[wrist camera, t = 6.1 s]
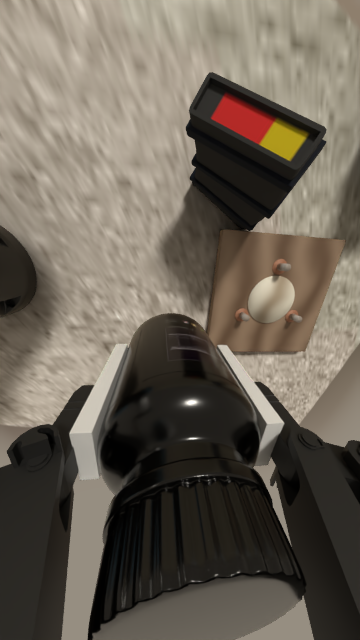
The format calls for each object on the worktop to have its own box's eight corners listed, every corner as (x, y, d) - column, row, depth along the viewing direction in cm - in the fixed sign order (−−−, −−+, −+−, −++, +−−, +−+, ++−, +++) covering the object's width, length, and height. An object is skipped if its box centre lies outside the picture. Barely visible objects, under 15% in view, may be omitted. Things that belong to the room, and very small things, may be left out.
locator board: (205, 347, 35) (209, 357, 32) (220, 230, 27) (228, 227, 24) (299, 347, 38) (312, 356, 34) (337, 241, 30) (359, 239, 27)
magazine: (259, 244, 27) (298, 177, 13) (195, 203, 29) (166, 105, 15) (275, 222, 26) (336, 126, 12) (208, 182, 28) (191, 55, 14)
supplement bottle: (186, 387, 16) (237, 661, 5) (119, 364, 15) (-14, 695, 4) (222, 329, 15) (421, 563, 3) (151, 296, 13) (85, 538, 2)
